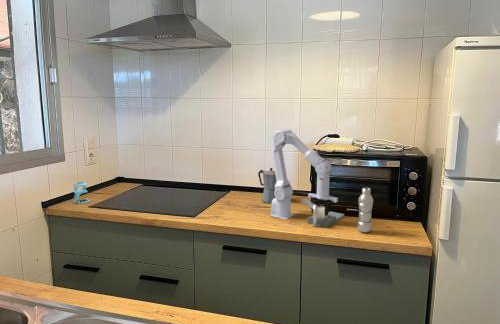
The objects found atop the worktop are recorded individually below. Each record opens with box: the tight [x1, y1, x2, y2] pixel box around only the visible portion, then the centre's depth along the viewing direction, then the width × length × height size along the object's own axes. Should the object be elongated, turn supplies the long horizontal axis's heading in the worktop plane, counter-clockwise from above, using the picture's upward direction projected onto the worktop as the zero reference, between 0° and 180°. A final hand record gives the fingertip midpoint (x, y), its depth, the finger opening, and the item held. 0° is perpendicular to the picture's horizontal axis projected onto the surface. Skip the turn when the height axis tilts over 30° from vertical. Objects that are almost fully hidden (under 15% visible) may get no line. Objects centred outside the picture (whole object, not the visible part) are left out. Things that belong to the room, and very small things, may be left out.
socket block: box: [307, 214, 337, 228], centre depth 182 cm, size 10×10×3 cm
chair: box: [72, 181, 91, 204], centre depth 218 cm, size 8×8×12 cm
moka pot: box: [257, 167, 277, 204], centre depth 219 cm, size 10×15×20 cm, turn 58°
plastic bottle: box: [356, 187, 374, 233], centre depth 169 cm, size 6×7×20 cm
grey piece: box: [301, 198, 318, 228], centre depth 181 cm, size 13×2×10 cm, turn 19°
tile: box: [328, 211, 345, 222], centre depth 190 cm, size 9×9×2 cm
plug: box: [318, 205, 328, 220], centre depth 181 cm, size 4×4×8 cm
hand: (322, 214), depth 181 cm, fingers closed on plug, 4 cm apart
